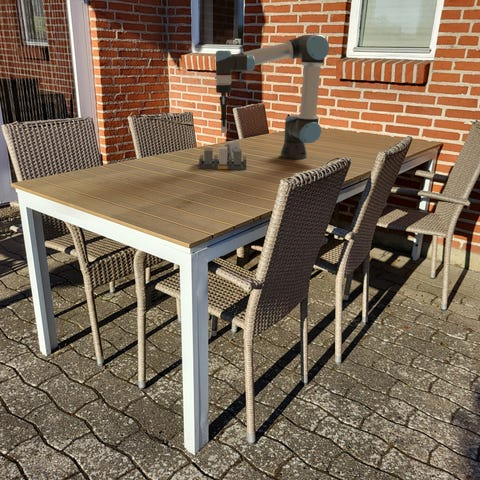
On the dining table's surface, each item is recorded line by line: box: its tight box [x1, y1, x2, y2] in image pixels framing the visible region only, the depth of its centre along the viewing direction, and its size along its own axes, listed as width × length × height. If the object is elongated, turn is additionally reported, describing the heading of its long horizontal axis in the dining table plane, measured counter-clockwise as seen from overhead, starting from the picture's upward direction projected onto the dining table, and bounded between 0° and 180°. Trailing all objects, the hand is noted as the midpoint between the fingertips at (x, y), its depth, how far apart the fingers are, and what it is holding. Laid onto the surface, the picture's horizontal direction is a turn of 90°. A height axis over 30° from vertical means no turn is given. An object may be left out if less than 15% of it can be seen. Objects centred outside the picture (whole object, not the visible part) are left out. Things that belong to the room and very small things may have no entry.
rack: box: [198, 147, 247, 171], centre depth 247 cm, size 24×14×9 cm, turn 90°
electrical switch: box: [224, 140, 241, 161], centre depth 267 cm, size 9×5×9 cm, turn 141°
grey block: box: [218, 145, 228, 166], centre depth 246 cm, size 4×8×9 cm, turn 0°
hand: (224, 132), depth 242 cm, fingers closed
